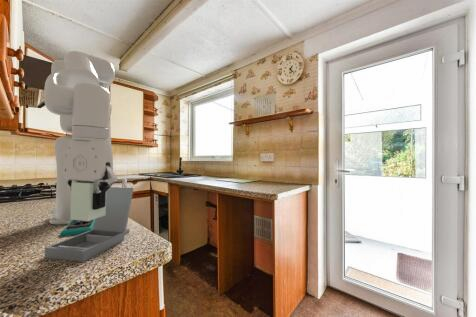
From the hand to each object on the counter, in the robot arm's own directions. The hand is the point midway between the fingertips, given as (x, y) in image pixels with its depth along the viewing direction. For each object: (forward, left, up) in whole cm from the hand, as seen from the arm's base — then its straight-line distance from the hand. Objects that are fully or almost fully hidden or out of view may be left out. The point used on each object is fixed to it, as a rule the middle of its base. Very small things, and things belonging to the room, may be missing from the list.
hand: (89, 206), depth 50 cm
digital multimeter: (-15, +12, -12) cm, 22 cm away
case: (+1, 0, -11) cm, 11 cm away
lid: (+1, +7, -2) cm, 7 cm away
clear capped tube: (+2, +10, -11) cm, 15 cm away
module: (0, 0, -3) cm, 3 cm away
